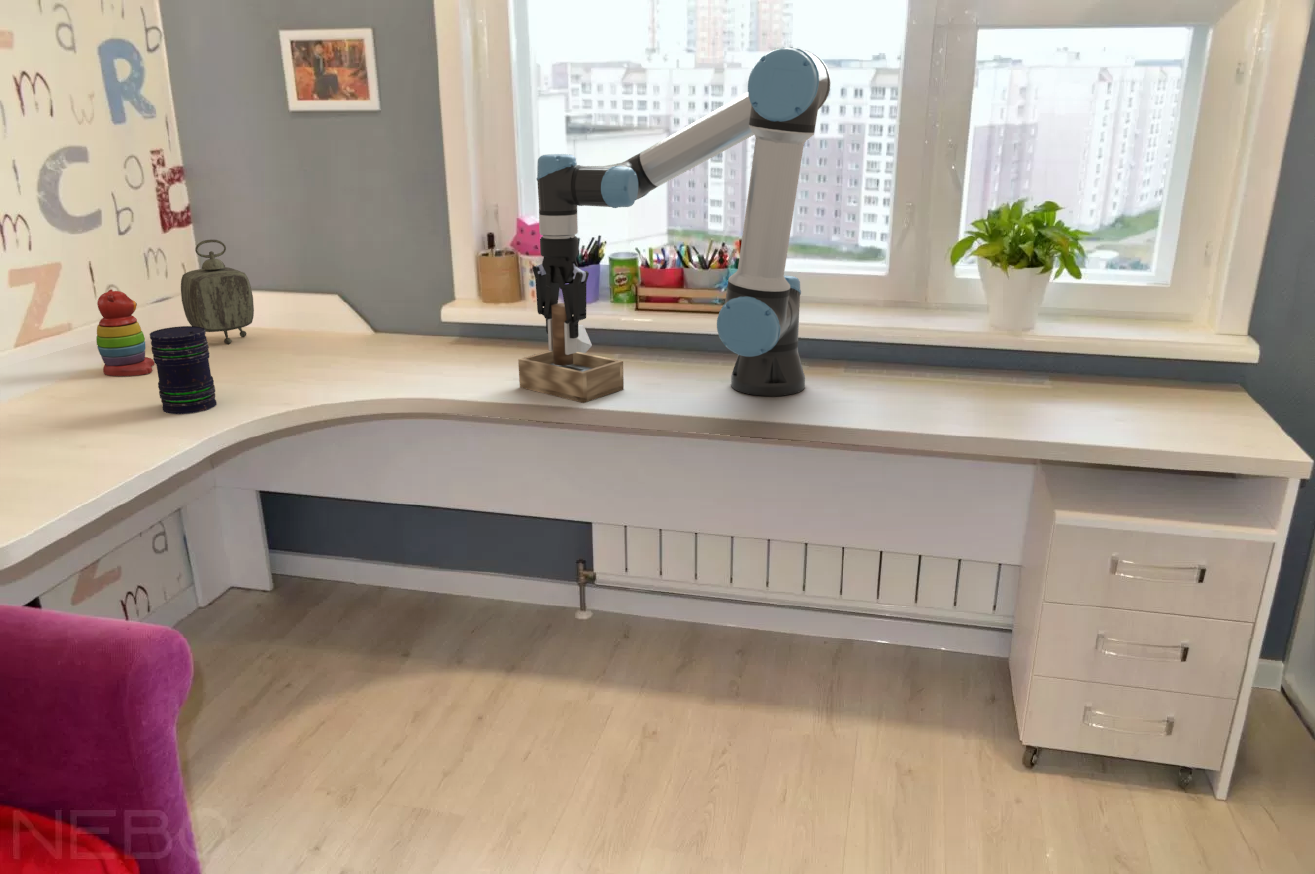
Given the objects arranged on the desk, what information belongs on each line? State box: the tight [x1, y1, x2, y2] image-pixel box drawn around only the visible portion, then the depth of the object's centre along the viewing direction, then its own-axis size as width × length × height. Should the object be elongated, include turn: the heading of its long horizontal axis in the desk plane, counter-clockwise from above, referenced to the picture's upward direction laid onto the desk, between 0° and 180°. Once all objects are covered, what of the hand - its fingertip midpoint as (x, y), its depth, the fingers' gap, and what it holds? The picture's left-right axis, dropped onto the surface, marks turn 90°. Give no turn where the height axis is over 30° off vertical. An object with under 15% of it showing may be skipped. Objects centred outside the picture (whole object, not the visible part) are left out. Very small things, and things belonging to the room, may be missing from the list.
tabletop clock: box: [180, 239, 255, 345], centre depth 241 cm, size 14×9×25 cm, turn 130°
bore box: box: [517, 350, 625, 404], centre depth 204 cm, size 18×12×6 cm, turn 51°
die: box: [577, 324, 593, 354], centre depth 227 cm, size 8×9×10 cm
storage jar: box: [149, 325, 218, 415], centre depth 192 cm, size 10×10×15 cm
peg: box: [551, 302, 573, 366], centre depth 203 cm, size 4×4×12 cm
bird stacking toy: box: [96, 288, 155, 377], centre depth 217 cm, size 11×10×18 cm
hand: (562, 351), depth 204 cm, fingers closed on peg, 4 cm apart
